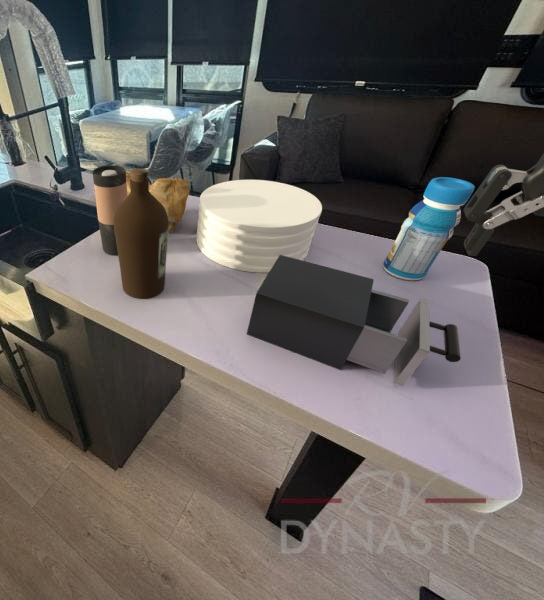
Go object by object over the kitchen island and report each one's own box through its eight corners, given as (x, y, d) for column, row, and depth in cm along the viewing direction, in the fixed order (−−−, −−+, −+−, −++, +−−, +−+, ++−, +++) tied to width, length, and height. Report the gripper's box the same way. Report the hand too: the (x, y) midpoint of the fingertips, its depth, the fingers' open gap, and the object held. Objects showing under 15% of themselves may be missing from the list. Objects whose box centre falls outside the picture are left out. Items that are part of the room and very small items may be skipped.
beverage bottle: (396, 283, 71) (448, 192, 58) (373, 261, 77) (415, 176, 64) (434, 280, 71) (494, 190, 58) (408, 259, 77) (457, 174, 65)
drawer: (435, 344, 56) (463, 310, 51) (437, 399, 48) (470, 364, 43) (317, 307, 64) (330, 274, 59) (302, 348, 56) (316, 314, 51)
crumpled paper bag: (208, 224, 96) (214, 171, 88) (176, 243, 85) (179, 185, 77) (146, 208, 108) (146, 160, 100) (111, 223, 97) (108, 170, 89)
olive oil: (115, 299, 69) (102, 181, 54) (124, 271, 78) (115, 161, 62) (165, 302, 68) (167, 182, 52) (169, 273, 76) (171, 162, 60)
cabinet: (352, 320, 62) (373, 279, 56) (340, 370, 54) (364, 327, 47) (269, 294, 69) (279, 254, 63) (246, 334, 60) (256, 292, 54)
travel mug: (136, 245, 87) (132, 168, 74) (120, 259, 82) (112, 178, 69) (113, 238, 90) (105, 163, 77) (96, 251, 85) (84, 173, 72)
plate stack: (332, 263, 77) (350, 218, 70) (220, 280, 73) (226, 234, 66) (272, 213, 99) (281, 175, 91) (183, 225, 95) (185, 185, 87)
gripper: (544, 114, 30) (447, 262, 41) (796, 125, 25) (610, 293, 35) (520, 101, 35) (439, 235, 46) (725, 108, 30) (581, 259, 40)
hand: (514, 260), depth 40 cm, fingers open, 8 cm apart
